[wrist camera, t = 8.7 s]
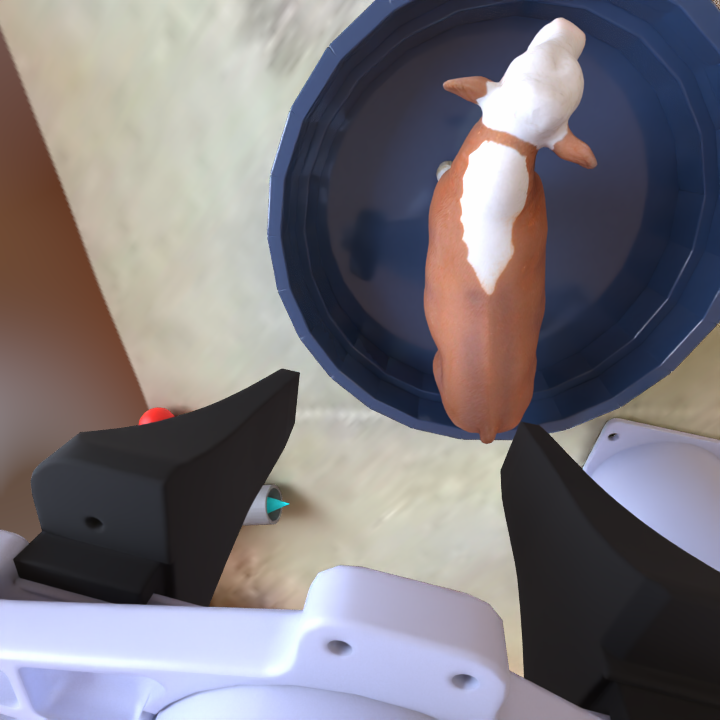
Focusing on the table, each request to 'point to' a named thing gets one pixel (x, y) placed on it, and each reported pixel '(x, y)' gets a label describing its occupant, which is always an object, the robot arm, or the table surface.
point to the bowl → (560, 184)
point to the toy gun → (266, 501)
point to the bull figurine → (499, 233)
